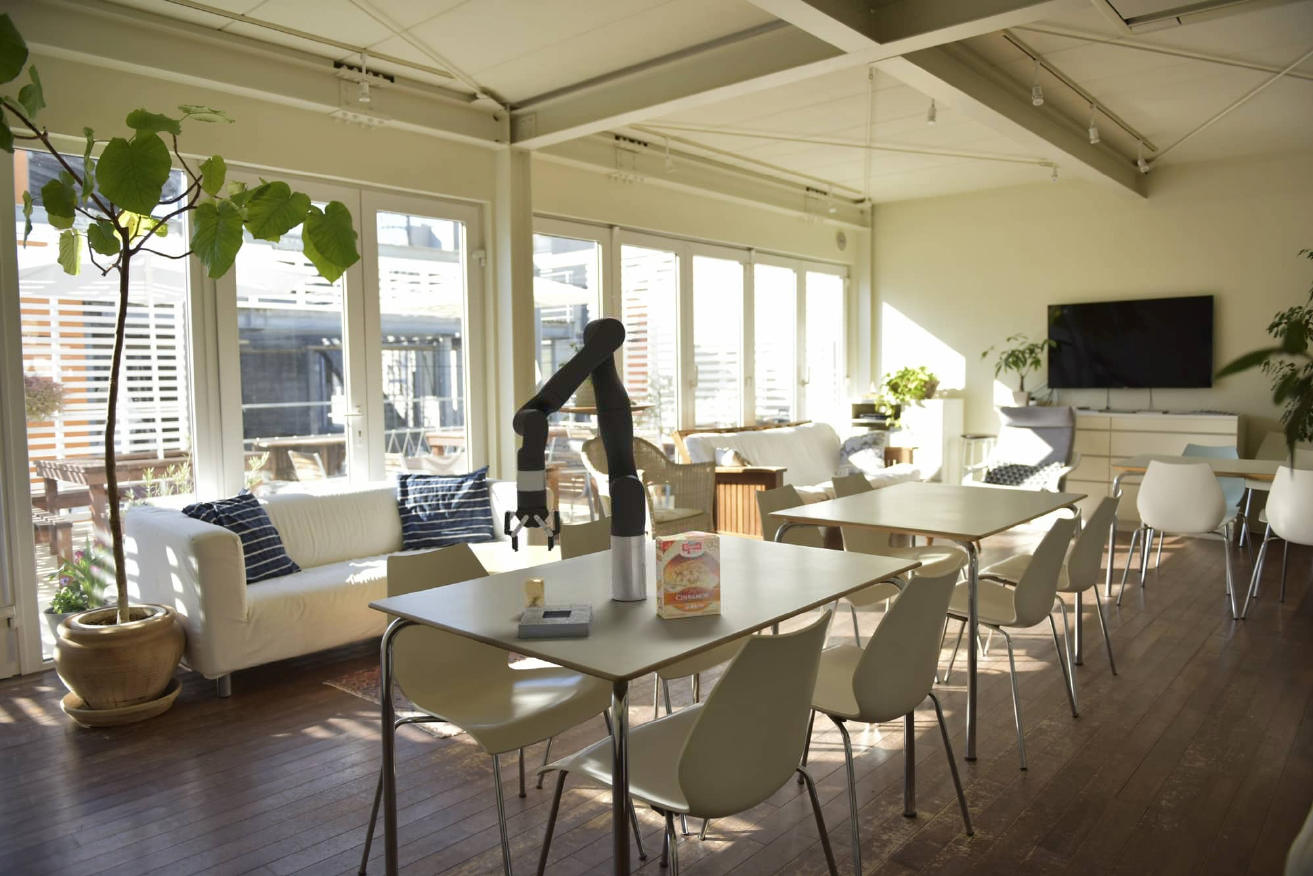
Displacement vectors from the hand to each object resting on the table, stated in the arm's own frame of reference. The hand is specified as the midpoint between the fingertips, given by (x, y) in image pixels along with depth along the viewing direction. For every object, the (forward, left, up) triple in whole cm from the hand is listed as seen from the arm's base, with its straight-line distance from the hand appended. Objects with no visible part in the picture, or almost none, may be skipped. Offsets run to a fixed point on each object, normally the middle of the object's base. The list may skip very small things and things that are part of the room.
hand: (533, 550), depth 236 cm
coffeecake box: (-39, +7, -16) cm, 43 cm away
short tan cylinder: (0, 0, -16) cm, 16 cm away
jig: (-7, +16, -16) cm, 24 cm away
